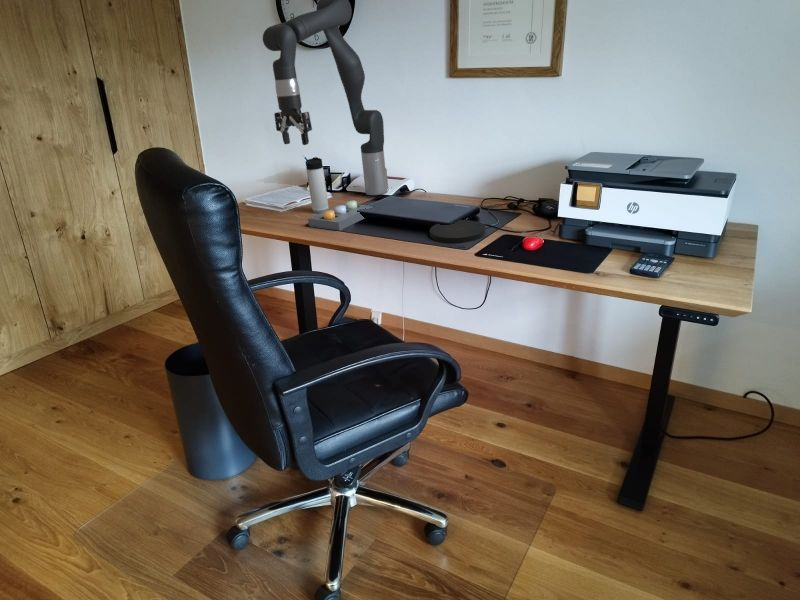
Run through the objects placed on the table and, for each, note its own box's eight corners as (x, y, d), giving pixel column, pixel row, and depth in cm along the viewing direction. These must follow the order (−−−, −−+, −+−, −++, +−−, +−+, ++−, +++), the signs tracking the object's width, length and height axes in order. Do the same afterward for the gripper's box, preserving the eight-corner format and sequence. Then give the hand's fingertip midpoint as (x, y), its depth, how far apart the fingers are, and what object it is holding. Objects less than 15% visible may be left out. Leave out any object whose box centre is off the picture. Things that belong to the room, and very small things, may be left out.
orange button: (329, 219, 200) (327, 209, 199) (337, 220, 198) (336, 210, 197) (322, 222, 198) (320, 213, 196) (330, 223, 195) (329, 214, 194)
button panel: (343, 210, 214) (342, 203, 213) (373, 214, 207) (372, 206, 206) (309, 226, 200) (307, 218, 198) (339, 230, 192) (338, 222, 191)
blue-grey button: (340, 214, 205) (339, 204, 204) (349, 215, 203) (347, 205, 202) (333, 217, 202) (332, 207, 201) (342, 218, 200) (340, 208, 199)
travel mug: (330, 207, 219) (323, 156, 211) (327, 212, 214) (319, 160, 205) (315, 208, 220) (307, 157, 212) (311, 213, 214) (303, 161, 206)
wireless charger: (443, 223, 191) (443, 218, 190) (493, 228, 183) (493, 222, 182) (420, 241, 177) (420, 235, 176) (473, 246, 169) (473, 240, 168)
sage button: (351, 209, 210) (350, 200, 209) (359, 210, 208) (358, 200, 206) (344, 212, 207) (343, 203, 206) (353, 213, 205) (352, 203, 203)
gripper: (312, 91, 181) (319, 142, 188) (280, 92, 189) (288, 141, 196) (296, 95, 176) (304, 147, 183) (264, 95, 183) (273, 145, 190)
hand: (296, 144), depth 189 cm, fingers open, 8 cm apart
